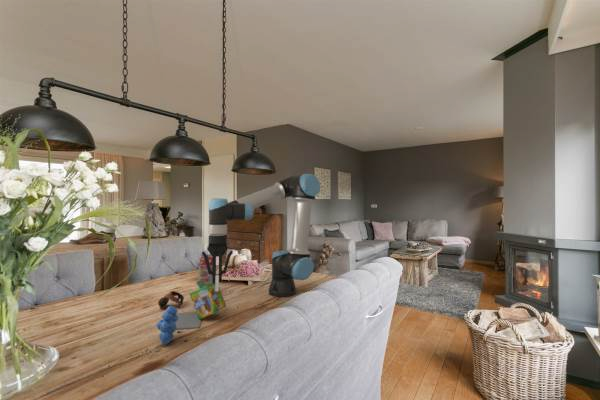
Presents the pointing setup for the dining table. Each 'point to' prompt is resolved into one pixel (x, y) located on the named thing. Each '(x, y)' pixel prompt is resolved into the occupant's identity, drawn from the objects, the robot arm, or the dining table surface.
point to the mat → (187, 320)
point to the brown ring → (171, 296)
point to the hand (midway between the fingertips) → (217, 290)
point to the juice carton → (205, 271)
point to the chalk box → (207, 300)
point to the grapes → (167, 325)
